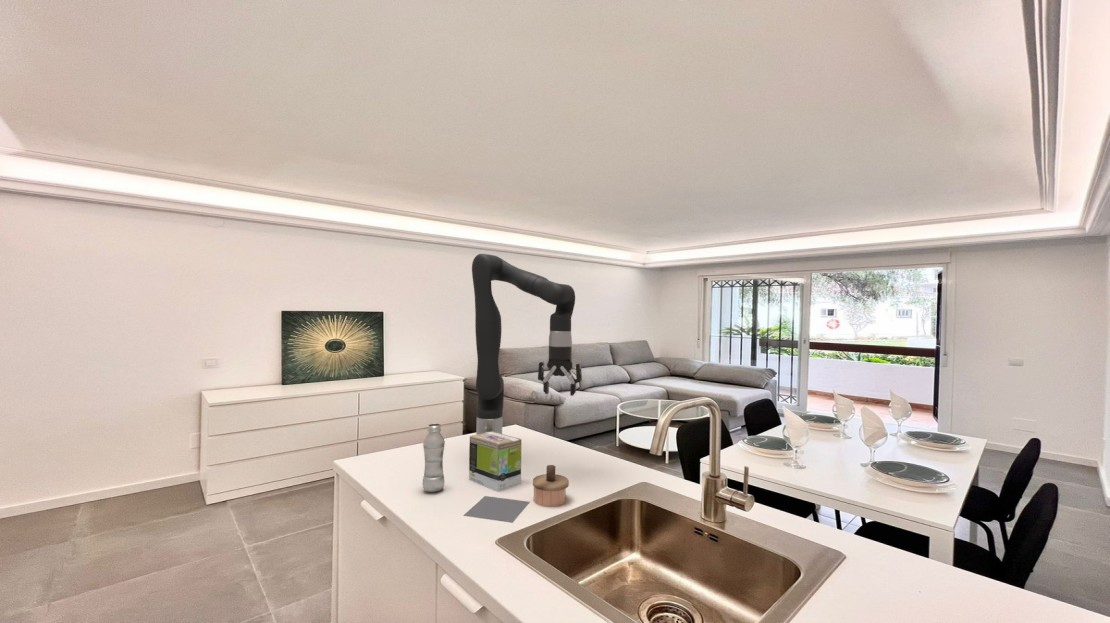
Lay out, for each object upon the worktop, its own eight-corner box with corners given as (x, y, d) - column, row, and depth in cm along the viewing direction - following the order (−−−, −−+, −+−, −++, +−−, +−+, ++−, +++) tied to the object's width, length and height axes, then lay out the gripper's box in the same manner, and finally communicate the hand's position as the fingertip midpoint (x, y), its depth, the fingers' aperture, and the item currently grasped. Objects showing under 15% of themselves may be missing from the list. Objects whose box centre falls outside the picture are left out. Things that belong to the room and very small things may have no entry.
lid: (528, 488, 132) (528, 470, 132) (539, 476, 142) (539, 459, 142) (563, 492, 129) (563, 474, 129) (572, 480, 139) (572, 462, 139)
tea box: (522, 484, 148) (522, 438, 148) (497, 493, 141) (498, 444, 141) (491, 473, 159) (492, 429, 159) (467, 480, 151) (468, 435, 151)
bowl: (530, 506, 132) (531, 488, 132) (537, 494, 141) (538, 477, 141) (562, 509, 130) (562, 491, 130) (567, 497, 139) (567, 480, 139)
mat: (463, 516, 124) (463, 515, 124) (484, 497, 138) (484, 495, 138) (512, 524, 120) (512, 522, 120) (529, 503, 134) (529, 501, 134)
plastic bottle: (449, 488, 144) (450, 423, 144) (434, 496, 138) (435, 428, 138) (432, 485, 147) (433, 421, 147) (417, 492, 140) (418, 426, 141)
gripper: (535, 344, 151) (535, 395, 151) (578, 346, 147) (578, 397, 147) (542, 343, 158) (542, 391, 158) (583, 344, 154) (583, 394, 154)
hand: (559, 394), depth 153 cm, fingers open, 8 cm apart
